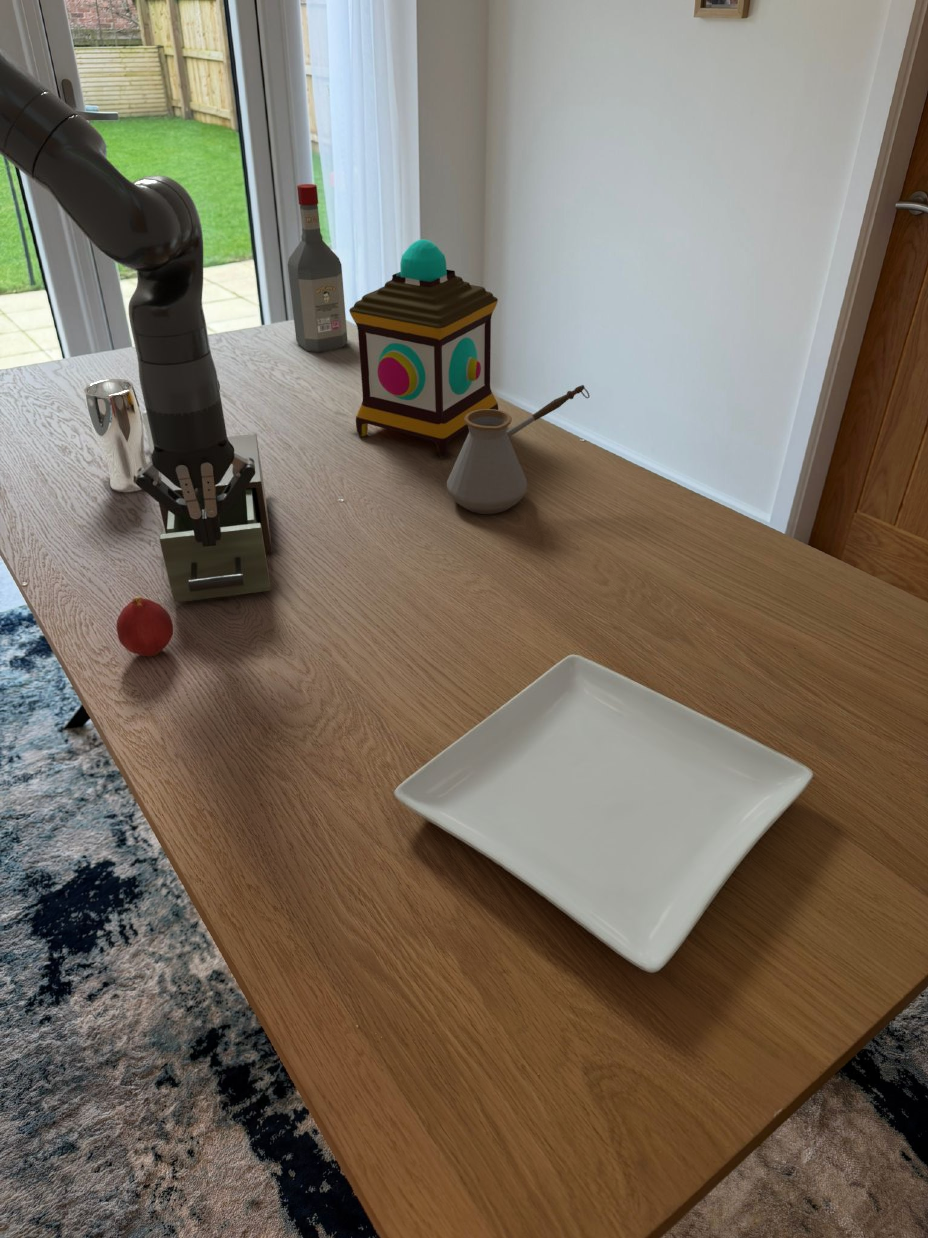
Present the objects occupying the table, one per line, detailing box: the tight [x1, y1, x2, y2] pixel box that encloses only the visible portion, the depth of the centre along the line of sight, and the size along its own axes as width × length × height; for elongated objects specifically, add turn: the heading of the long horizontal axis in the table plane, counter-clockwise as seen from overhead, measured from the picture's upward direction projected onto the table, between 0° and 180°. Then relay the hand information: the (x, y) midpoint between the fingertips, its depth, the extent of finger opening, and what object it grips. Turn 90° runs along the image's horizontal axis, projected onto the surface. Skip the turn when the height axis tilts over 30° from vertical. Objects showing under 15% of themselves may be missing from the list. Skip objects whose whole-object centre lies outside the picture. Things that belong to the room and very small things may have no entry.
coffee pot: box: [446, 384, 590, 515], centre depth 126 cm, size 21×12×15 cm, turn 115°
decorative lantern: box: [349, 238, 499, 459], centre depth 141 cm, size 20×20×30 cm
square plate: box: [393, 653, 814, 974], centre depth 80 cm, size 27×27×4 cm
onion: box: [116, 595, 174, 658], centre depth 97 cm, size 6×6×8 cm
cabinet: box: [158, 433, 273, 554], centre depth 119 cm, size 15×13×11 cm
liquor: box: [287, 183, 348, 353], centre depth 176 cm, size 9×9×30 cm
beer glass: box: [83, 378, 148, 493], centre depth 129 cm, size 7×7×15 cm
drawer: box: [158, 488, 272, 603], centre depth 108 cm, size 19×11×9 cm, turn 13°
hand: (209, 542), depth 101 cm, fingers closed
